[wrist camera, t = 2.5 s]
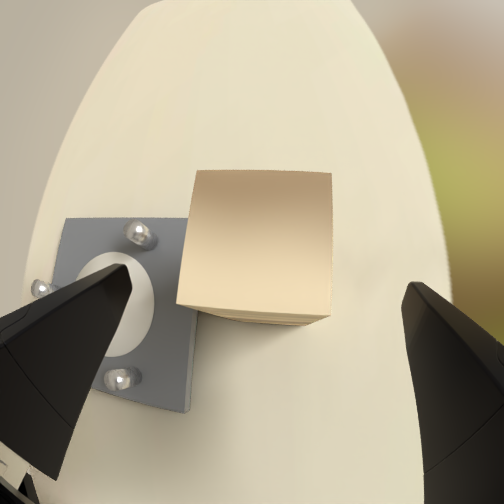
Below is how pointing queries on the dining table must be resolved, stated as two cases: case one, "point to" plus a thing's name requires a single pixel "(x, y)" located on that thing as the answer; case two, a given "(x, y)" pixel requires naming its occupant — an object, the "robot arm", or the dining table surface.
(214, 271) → the maple block
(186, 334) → the plate
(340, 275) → the dining table surface
